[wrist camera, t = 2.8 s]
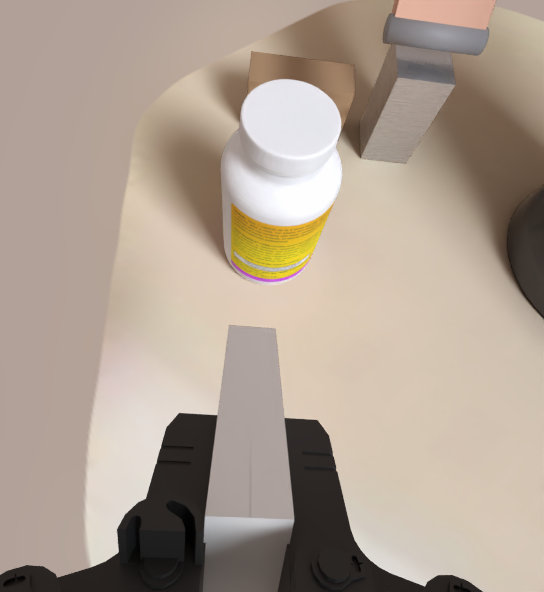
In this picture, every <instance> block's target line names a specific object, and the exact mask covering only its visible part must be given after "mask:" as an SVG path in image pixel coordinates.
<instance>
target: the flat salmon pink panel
mask: <svg viewBox="0 0 544 592" xmlns="http://www.w3.org/2000/svg"><path fill="white" fill-rule="evenodd" d="M495 3H496V0H395V2H394V6H393V11H392V13H390V14H389V16H388V18H387V20H386V24H385V27H384V32H383V43H387V44H394V45H401V46H409V47H416V48H423V49H431V50H438V51H445V52H453V53H460V54H467V55H474V56H478V55H479V54H480V53H481V52H482V51H483V49H484V48H485V46H486V43H487V41H488V37H489V29H488V27H487V26H488V23H489V20H490V17H491V14H492V11H493V9H494V6H495Z"/></svg>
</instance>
